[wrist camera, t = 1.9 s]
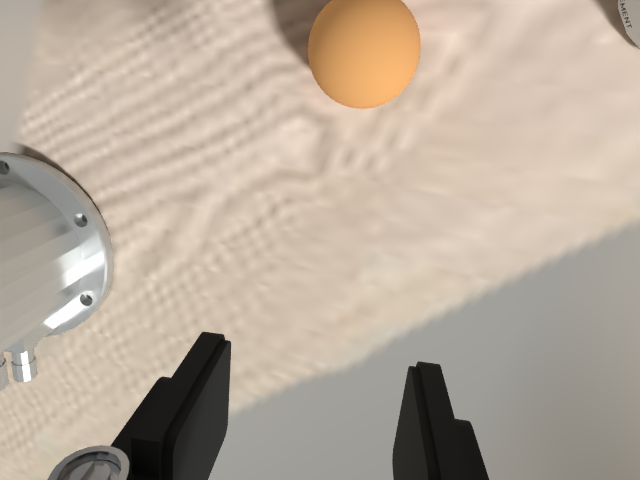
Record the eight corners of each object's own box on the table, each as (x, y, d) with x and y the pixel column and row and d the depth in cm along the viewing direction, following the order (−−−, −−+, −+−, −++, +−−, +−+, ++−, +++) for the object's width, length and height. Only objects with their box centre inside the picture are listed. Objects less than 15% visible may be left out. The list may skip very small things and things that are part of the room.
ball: (405, 111, 26) (415, 117, 21) (309, 101, 26) (296, 104, 21) (422, 4, 24) (437, -19, 19) (319, -6, 25) (306, -32, 19)
